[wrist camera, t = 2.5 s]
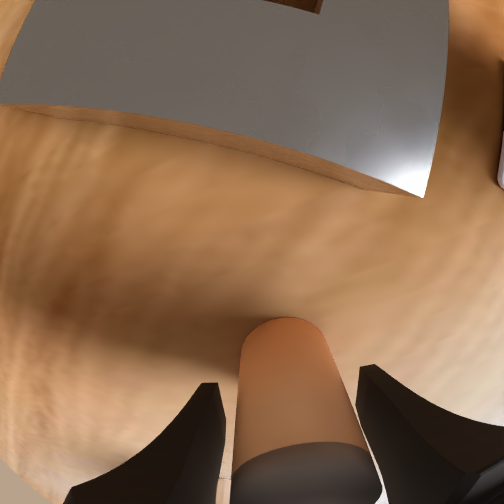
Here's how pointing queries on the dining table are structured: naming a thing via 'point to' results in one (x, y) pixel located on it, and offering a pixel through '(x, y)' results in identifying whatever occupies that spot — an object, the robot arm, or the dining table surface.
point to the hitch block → (249, 78)
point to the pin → (296, 423)
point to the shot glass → (223, 491)
